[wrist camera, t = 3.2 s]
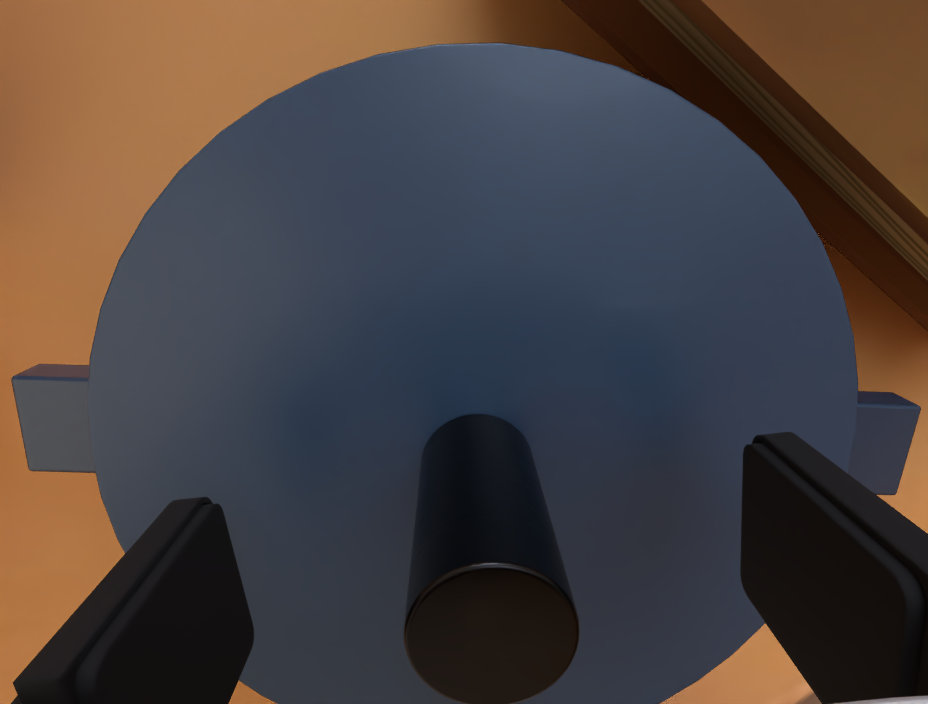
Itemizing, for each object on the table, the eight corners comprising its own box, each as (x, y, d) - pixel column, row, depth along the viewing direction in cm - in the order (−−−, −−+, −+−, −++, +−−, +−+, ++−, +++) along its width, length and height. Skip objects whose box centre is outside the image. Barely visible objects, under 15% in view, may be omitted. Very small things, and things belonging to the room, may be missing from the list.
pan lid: (61, 31, 11) (-372, -123, 5) (910, 75, 12) (1372, -21, 6) (157, 708, 16) (-14, 1020, 10) (754, 718, 16) (921, 1019, 11)
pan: (102, 87, 16) (-88, 41, 11) (844, 123, 17) (1046, 99, 11) (162, 566, 21) (53, 716, 15) (745, 579, 22) (852, 727, 16)
